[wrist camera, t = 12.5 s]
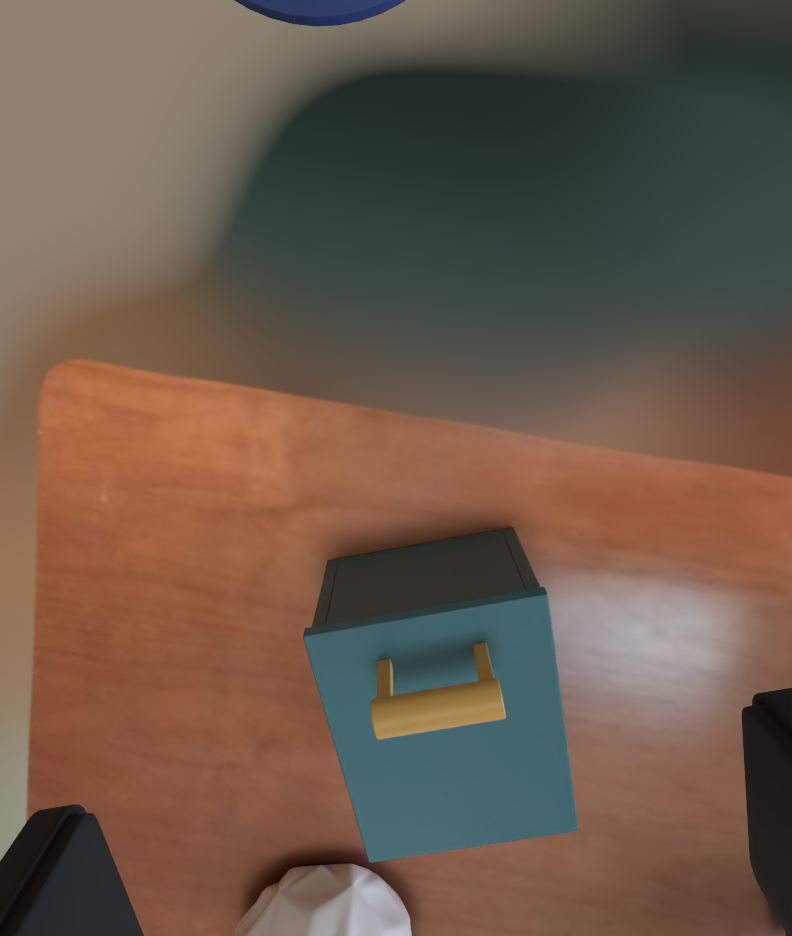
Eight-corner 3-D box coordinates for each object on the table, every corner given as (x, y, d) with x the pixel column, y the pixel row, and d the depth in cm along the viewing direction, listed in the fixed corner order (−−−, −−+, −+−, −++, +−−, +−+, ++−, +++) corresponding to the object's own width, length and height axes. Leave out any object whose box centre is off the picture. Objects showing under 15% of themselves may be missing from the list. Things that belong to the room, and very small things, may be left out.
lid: (304, 628, 34) (289, 701, 29) (544, 586, 34) (573, 653, 29) (369, 851, 40) (366, 946, 35) (575, 819, 40) (604, 912, 34)
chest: (327, 560, 44) (310, 627, 36) (513, 526, 44) (541, 587, 35) (374, 751, 49) (369, 851, 40) (544, 723, 48) (575, 819, 40)
